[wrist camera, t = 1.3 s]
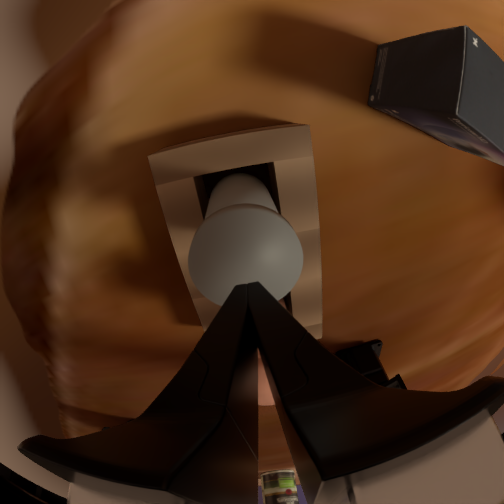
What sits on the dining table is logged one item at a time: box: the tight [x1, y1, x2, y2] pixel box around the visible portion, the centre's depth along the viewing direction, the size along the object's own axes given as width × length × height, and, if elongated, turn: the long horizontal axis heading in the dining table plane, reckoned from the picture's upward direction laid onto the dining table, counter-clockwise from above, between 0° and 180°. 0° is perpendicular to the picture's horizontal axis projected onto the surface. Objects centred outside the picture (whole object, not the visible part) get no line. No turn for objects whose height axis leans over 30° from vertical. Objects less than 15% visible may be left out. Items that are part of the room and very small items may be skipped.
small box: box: [368, 25, 504, 166], centre depth 13 cm, size 11×6×10 cm, turn 79°
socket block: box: [148, 123, 322, 339], centre depth 21 cm, size 18×10×4 cm, turn 10°
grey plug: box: [188, 173, 303, 306], centre depth 14 cm, size 5×5×8 cm
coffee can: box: [260, 470, 299, 504], centre depth 54 cm, size 10×10×14 cm
